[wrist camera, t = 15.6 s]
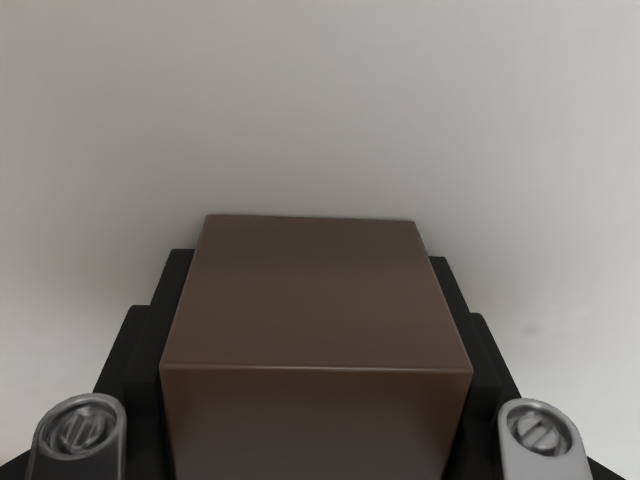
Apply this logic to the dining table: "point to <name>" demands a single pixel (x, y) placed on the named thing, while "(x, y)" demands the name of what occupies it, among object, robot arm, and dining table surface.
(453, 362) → the walnut block
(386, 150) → the dining table surface
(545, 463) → the robot arm
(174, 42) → the dining table surface
